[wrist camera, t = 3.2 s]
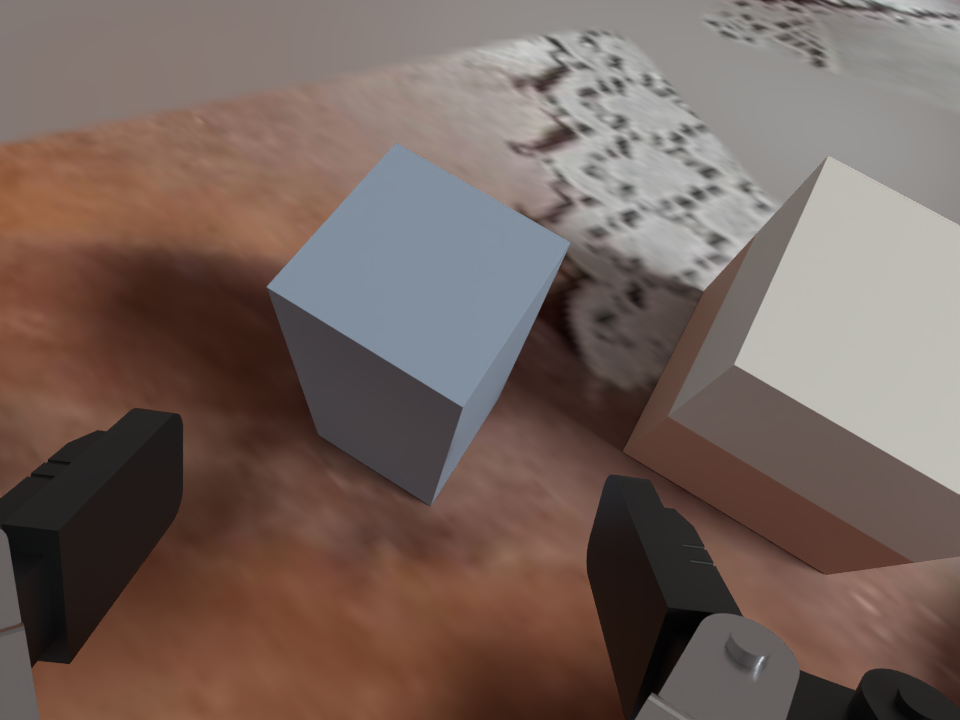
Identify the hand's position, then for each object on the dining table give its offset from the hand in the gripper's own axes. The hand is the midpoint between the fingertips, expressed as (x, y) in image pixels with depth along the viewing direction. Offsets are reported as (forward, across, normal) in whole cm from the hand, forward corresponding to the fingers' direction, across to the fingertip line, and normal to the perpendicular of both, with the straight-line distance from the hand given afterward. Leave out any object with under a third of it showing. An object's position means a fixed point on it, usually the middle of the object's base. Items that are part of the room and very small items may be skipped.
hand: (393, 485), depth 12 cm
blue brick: (+10, 0, +3) cm, 10 cm away
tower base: (+11, -13, +2) cm, 17 cm away
